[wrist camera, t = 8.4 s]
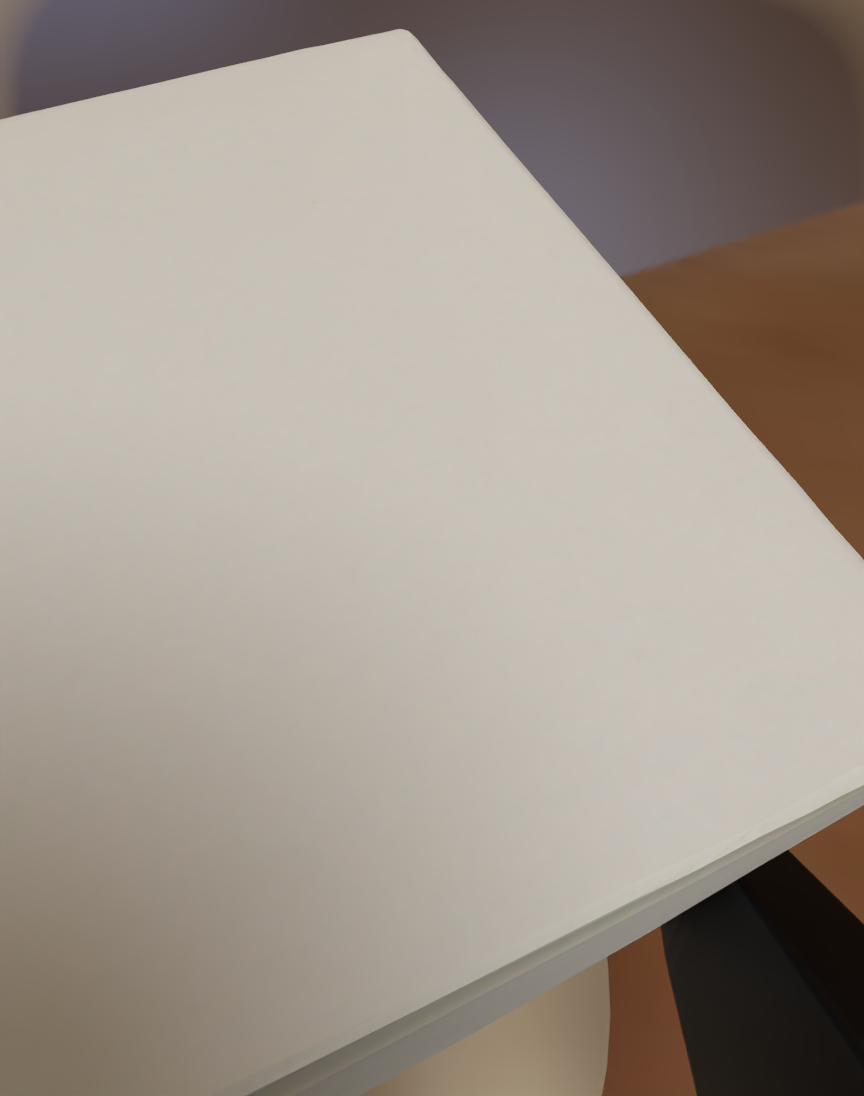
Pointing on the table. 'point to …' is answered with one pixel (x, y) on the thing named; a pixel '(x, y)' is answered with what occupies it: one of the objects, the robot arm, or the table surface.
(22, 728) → the supplement box
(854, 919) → the robot arm
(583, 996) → the stool
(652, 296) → the table surface
